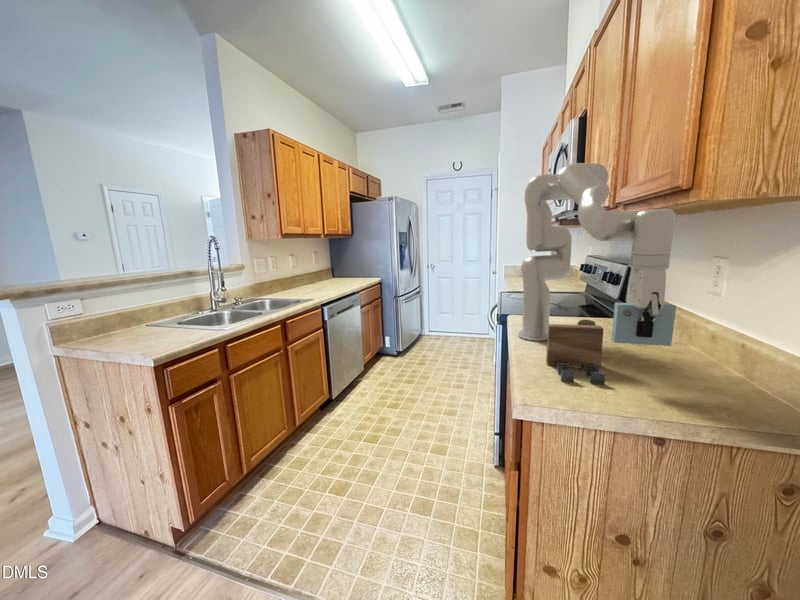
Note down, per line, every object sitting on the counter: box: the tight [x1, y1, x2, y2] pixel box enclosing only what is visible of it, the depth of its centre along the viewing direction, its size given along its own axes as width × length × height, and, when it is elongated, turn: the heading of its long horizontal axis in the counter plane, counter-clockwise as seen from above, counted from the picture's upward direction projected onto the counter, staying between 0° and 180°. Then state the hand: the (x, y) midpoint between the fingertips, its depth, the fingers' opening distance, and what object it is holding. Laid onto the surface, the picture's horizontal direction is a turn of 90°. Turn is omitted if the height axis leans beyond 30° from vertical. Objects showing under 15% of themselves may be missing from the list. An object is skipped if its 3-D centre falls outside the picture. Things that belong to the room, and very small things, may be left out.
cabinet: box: [545, 323, 604, 370], centre depth 96 cm, size 4×14×12 cm, turn 72°
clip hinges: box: [555, 361, 606, 386], centre depth 89 cm, size 12×10×3 cm
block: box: [611, 302, 677, 347], centre depth 80 cm, size 4×12×10 cm, turn 72°
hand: (641, 334), depth 81 cm, fingers closed on block, 2 cm apart
